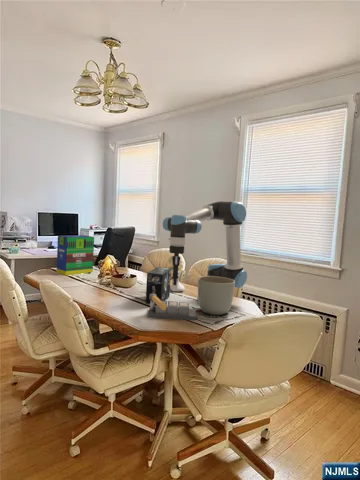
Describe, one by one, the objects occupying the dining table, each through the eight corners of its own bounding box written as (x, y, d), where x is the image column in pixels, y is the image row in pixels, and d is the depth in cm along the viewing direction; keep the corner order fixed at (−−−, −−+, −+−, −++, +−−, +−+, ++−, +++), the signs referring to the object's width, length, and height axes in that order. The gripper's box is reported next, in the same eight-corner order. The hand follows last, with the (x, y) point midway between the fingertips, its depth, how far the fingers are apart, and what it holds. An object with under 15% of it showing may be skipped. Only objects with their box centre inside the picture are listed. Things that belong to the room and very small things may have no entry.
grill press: (194, 312, 192) (195, 299, 192) (195, 320, 178) (196, 306, 178) (150, 309, 192) (150, 296, 191) (148, 317, 178) (148, 303, 177)
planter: (205, 304, 210) (208, 274, 208) (237, 311, 199) (240, 279, 198) (189, 312, 192) (191, 279, 190) (223, 320, 181) (226, 285, 180)
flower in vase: (184, 289, 248) (186, 255, 246) (185, 293, 236) (187, 257, 234) (166, 288, 247) (168, 254, 245) (166, 291, 236) (168, 256, 234)
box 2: (161, 305, 202) (163, 274, 200) (144, 303, 203) (146, 272, 202) (170, 296, 224) (171, 268, 223) (155, 294, 226) (157, 266, 225)
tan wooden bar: (148, 298, 185) (148, 293, 185) (155, 298, 186) (155, 293, 186) (160, 310, 164) (160, 305, 164) (167, 310, 166) (167, 304, 165)
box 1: (83, 270, 295) (84, 235, 292) (92, 272, 286) (94, 237, 284) (56, 272, 276) (57, 235, 273) (65, 275, 267) (67, 237, 265)
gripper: (169, 243, 180) (167, 287, 182) (169, 246, 167) (166, 293, 169) (184, 244, 180) (181, 288, 182) (184, 247, 167) (181, 294, 169)
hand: (174, 290), depth 176 cm, fingers closed
